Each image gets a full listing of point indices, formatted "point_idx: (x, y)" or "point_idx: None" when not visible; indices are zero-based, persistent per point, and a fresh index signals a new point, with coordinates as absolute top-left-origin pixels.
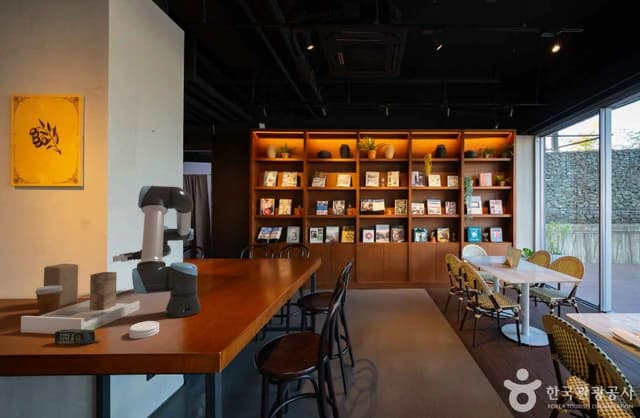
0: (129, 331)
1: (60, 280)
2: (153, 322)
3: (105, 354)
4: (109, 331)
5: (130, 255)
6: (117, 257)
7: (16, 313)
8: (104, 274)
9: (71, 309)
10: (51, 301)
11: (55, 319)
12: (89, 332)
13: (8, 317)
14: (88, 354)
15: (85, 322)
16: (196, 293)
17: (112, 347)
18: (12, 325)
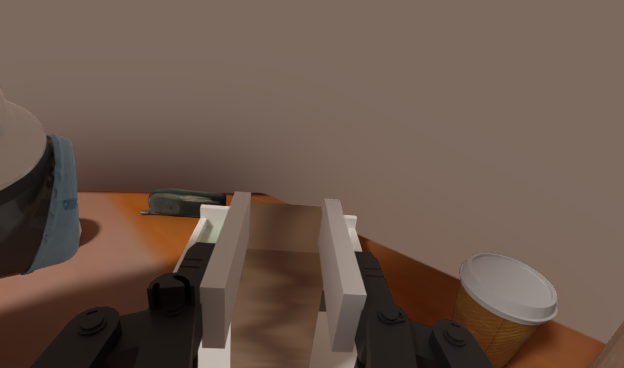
0: (79, 221)
1: (619, 338)
2: None
3: (108, 191)
4: (144, 248)
5: (209, 265)
6: (327, 235)
7: (563, 341)
8: (257, 209)
9: None
10: (455, 303)
11: None
12: (154, 190)
13: None
14: (138, 192)
15: (201, 221)
16: None
17: (104, 203)
18: (420, 269)
